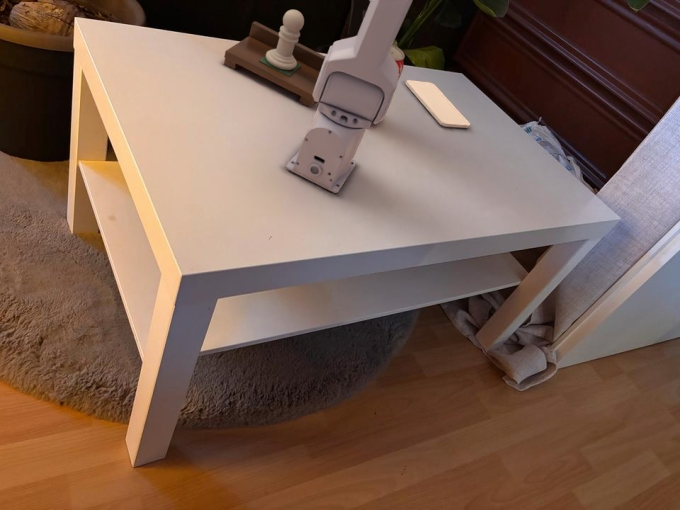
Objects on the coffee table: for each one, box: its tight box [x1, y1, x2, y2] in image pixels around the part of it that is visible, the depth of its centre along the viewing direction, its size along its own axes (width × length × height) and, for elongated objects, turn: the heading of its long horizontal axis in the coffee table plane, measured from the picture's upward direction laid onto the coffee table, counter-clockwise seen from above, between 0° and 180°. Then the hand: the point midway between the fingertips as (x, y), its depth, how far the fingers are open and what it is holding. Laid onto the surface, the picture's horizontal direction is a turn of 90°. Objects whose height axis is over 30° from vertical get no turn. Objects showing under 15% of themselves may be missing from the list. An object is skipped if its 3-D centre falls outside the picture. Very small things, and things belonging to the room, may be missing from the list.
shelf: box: [223, 20, 326, 108], centre depth 94 cm, size 10×16×5 cm, turn 71°
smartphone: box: [405, 79, 471, 129], centre depth 109 cm, size 7×1×15 cm
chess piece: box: [266, 9, 305, 70], centre depth 91 cm, size 5×5×9 cm
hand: (358, 46), depth 92 cm, fingers open, 7 cm apart
